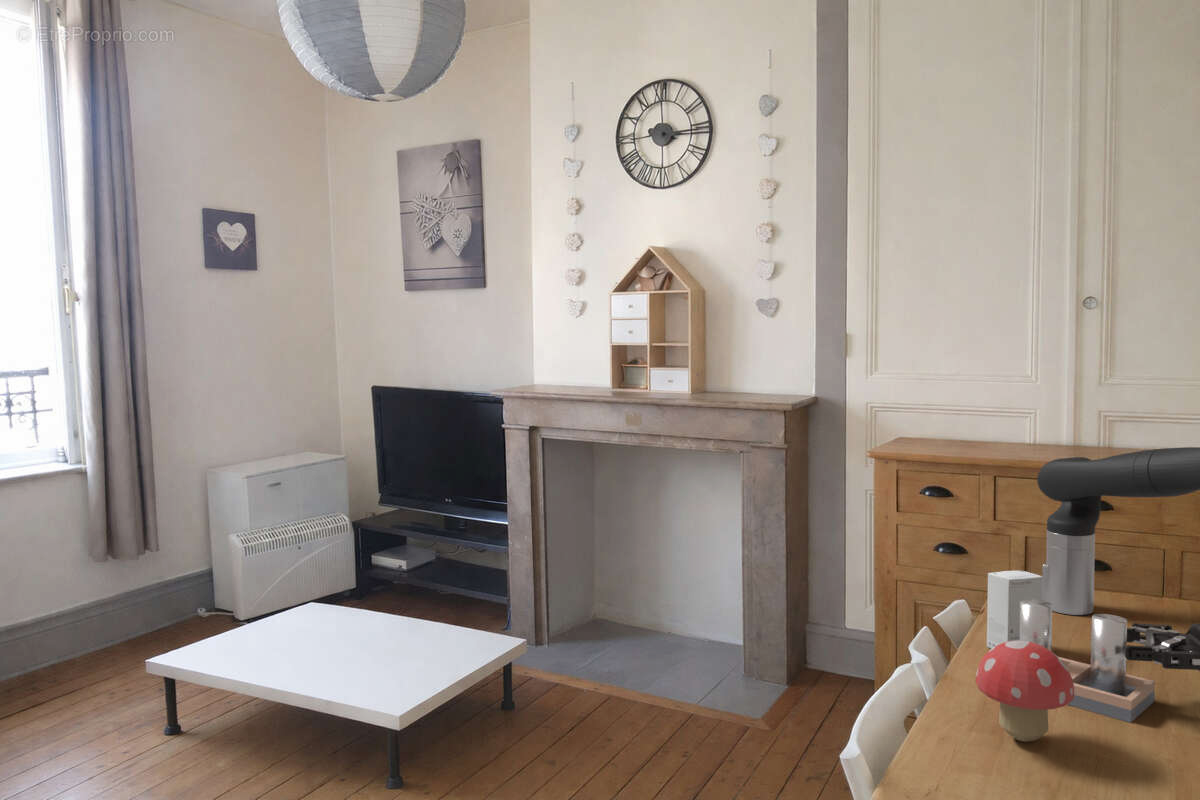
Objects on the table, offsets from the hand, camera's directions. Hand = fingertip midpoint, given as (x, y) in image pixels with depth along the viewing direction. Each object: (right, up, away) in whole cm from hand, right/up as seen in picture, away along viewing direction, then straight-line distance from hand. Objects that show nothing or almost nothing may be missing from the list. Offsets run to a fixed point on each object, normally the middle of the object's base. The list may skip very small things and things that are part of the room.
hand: (1116, 643), depth 143 cm
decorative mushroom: (-21, -12, -11) cm, 26 cm away
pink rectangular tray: (-5, -10, +5) cm, 12 cm away
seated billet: (-9, -8, +10) cm, 15 cm away
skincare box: (-5, -8, +25) cm, 27 cm away
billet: (-1, -8, +1) cm, 8 cm away
